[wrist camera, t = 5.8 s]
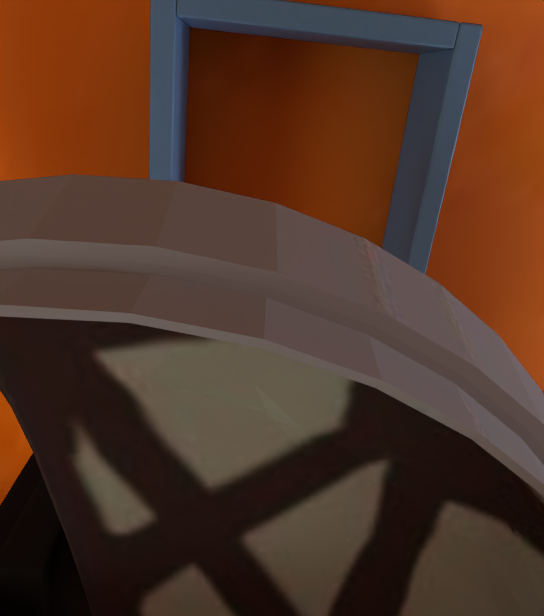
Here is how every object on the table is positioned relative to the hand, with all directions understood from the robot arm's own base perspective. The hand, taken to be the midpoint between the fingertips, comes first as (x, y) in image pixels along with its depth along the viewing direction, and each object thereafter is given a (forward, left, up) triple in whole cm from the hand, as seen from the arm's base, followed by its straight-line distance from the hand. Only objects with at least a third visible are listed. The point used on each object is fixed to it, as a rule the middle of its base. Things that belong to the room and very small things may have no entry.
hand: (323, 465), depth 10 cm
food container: (0, 0, -6) cm, 6 cm away
